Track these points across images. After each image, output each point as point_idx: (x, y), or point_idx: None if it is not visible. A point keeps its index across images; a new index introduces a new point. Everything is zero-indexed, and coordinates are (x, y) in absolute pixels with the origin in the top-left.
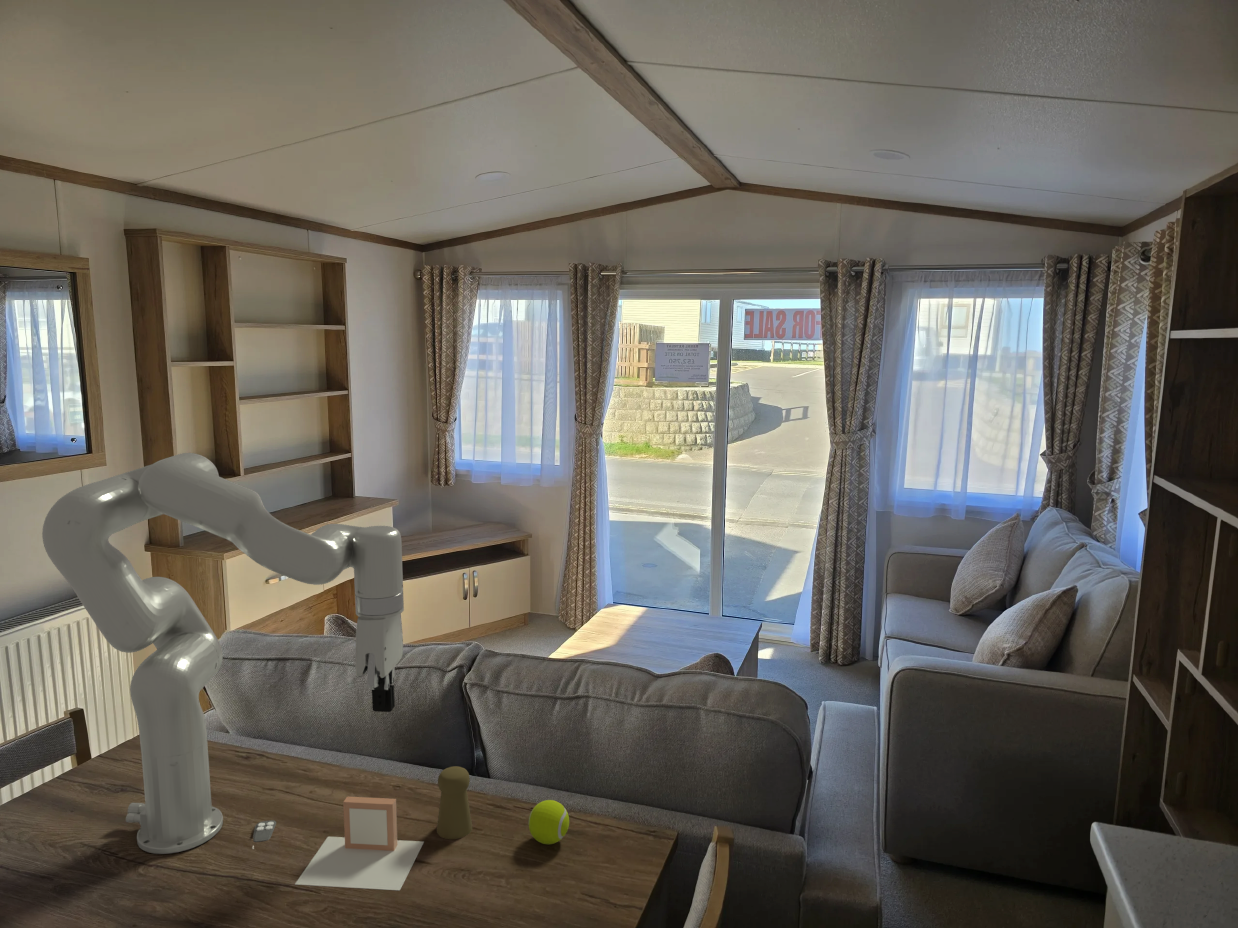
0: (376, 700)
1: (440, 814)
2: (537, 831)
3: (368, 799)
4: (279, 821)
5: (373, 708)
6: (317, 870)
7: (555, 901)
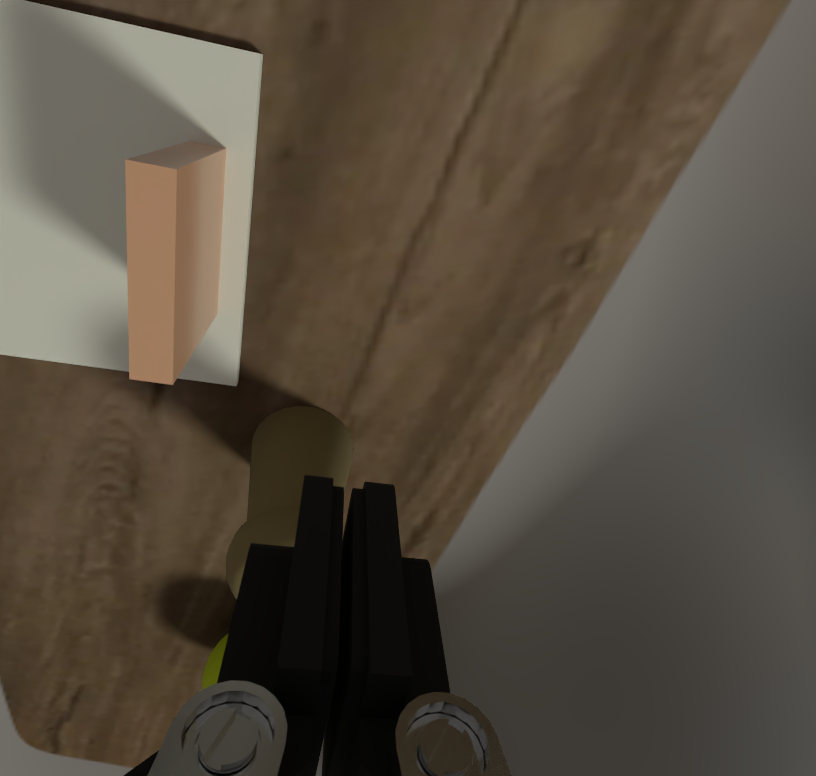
0: (238, 602)
1: (269, 458)
2: (209, 661)
3: (157, 275)
4: None
5: (302, 489)
6: (47, 60)
7: (45, 650)
